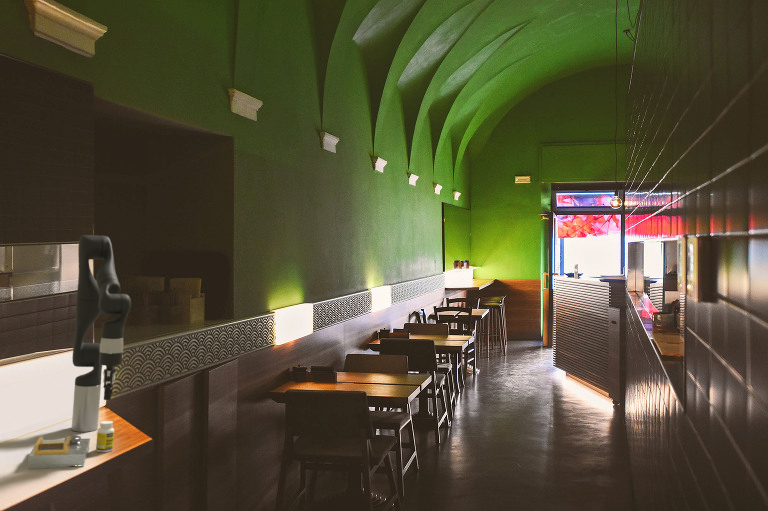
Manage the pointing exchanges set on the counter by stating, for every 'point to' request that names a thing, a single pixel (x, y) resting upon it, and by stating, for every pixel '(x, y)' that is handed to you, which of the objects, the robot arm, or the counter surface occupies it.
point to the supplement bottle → (105, 437)
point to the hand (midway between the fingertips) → (108, 397)
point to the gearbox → (59, 452)
